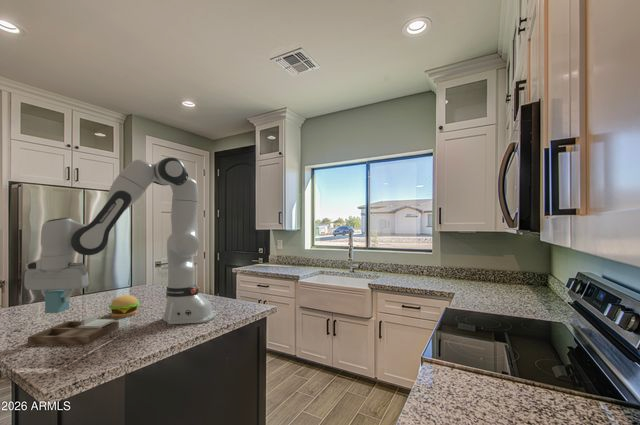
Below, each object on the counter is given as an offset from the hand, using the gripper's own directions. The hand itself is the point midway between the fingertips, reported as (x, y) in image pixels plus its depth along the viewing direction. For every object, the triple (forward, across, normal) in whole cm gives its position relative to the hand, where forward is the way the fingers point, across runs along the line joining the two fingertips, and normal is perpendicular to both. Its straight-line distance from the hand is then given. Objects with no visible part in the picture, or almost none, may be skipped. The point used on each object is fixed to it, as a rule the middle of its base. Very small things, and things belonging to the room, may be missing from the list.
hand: (57, 301), depth 104 cm
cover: (+11, -9, -7) cm, 16 cm away
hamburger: (+15, -3, -31) cm, 35 cm away
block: (+3, 0, 0) cm, 3 cm away
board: (+14, -4, -3) cm, 15 cm away
